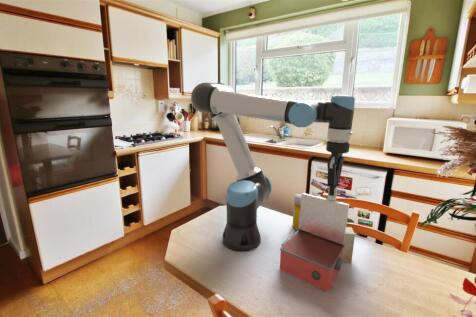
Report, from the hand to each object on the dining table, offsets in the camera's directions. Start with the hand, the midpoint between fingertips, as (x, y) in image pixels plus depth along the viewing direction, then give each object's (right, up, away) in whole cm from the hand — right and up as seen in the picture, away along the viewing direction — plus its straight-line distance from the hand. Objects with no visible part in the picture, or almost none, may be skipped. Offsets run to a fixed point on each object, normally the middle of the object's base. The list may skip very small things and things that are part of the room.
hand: (331, 202), depth 93 cm
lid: (-6, -4, -8) cm, 11 cm away
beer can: (-8, -14, +16) cm, 23 cm away
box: (+3, -19, -4) cm, 20 cm away
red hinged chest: (-11, -20, -9) cm, 25 cm away
